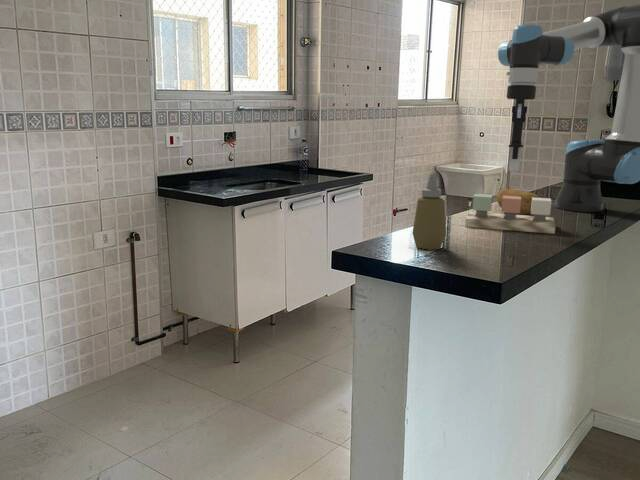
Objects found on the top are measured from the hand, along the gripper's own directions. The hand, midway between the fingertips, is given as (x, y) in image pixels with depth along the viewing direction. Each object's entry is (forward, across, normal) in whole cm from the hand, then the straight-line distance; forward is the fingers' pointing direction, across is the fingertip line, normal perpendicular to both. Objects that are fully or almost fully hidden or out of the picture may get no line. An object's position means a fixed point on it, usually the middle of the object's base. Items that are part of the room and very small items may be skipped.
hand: (513, 170), depth 170 cm
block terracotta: (+14, 0, 0) cm, 14 cm away
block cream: (+14, 0, +8) cm, 16 cm away
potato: (+16, -20, +2) cm, 26 cm away
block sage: (+14, 0, -8) cm, 16 cm away
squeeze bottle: (+17, +35, -18) cm, 43 cm away
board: (+16, 0, 0) cm, 16 cm away
